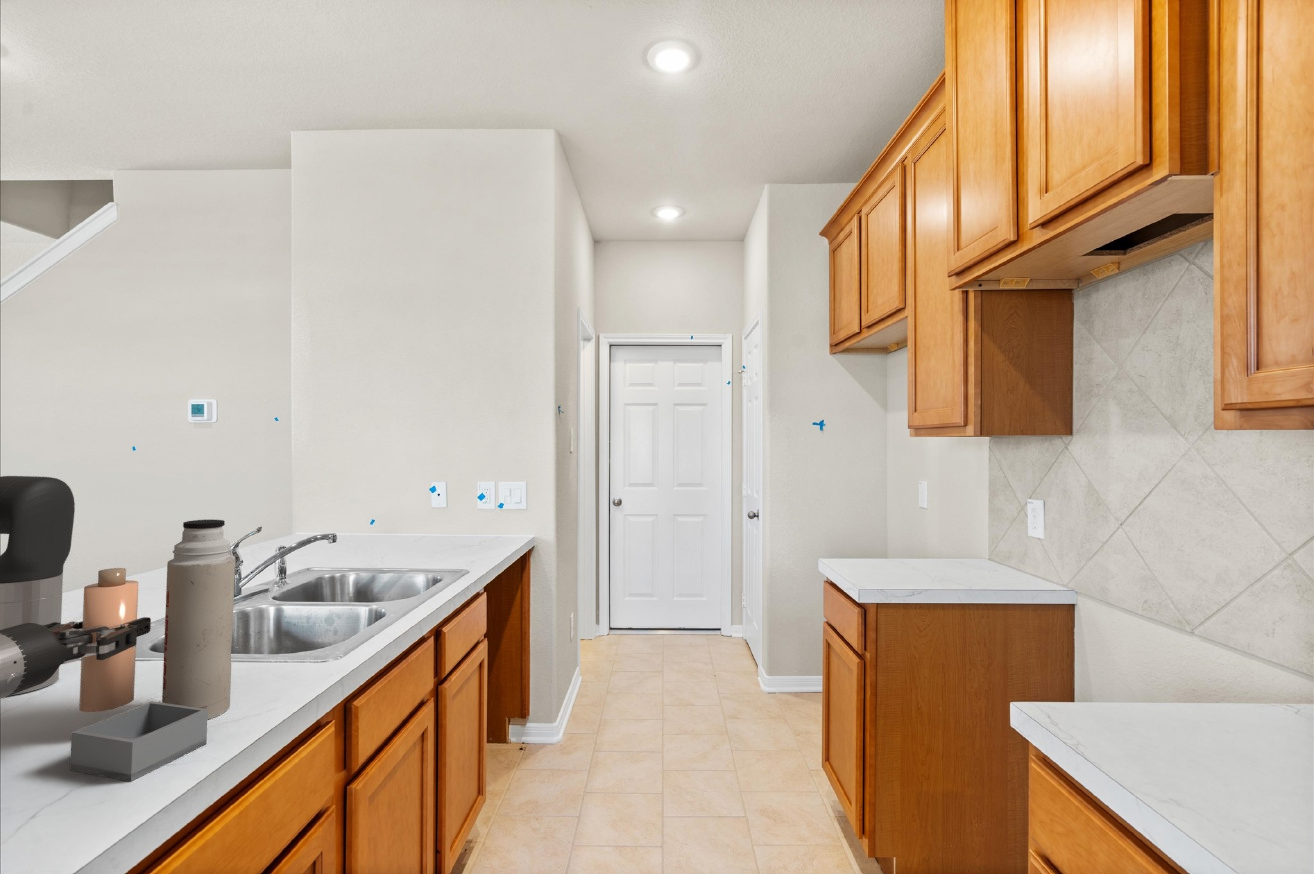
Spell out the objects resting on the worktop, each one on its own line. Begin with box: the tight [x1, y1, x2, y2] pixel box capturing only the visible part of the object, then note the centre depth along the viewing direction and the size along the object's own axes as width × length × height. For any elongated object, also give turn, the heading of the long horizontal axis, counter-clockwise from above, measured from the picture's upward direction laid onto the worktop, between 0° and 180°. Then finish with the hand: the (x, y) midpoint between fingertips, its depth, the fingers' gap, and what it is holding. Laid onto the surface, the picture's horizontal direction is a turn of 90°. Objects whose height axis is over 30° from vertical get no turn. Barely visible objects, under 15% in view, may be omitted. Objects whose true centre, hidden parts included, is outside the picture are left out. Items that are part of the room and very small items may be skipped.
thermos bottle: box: [161, 519, 236, 721], centre depth 89 cm, size 8×8×28 cm
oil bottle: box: [78, 567, 139, 713], centre depth 82 cm, size 6×6×18 cm
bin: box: [69, 700, 208, 782], centre depth 76 cm, size 9×9×4 cm
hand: (126, 623), depth 85 cm, fingers closed on oil bottle, 5 cm apart
